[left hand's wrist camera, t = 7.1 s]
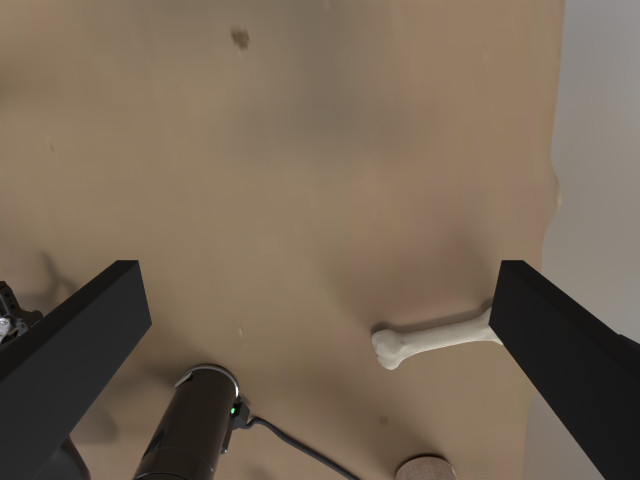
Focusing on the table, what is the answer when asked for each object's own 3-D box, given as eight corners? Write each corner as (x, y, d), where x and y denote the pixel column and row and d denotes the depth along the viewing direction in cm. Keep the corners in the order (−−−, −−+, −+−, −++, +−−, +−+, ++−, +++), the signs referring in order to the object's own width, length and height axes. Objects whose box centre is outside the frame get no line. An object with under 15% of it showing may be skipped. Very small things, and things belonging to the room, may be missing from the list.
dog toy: (376, 356, 54) (381, 380, 49) (367, 325, 52) (372, 347, 47) (507, 328, 52) (526, 350, 47) (505, 294, 50) (524, 314, 45)
